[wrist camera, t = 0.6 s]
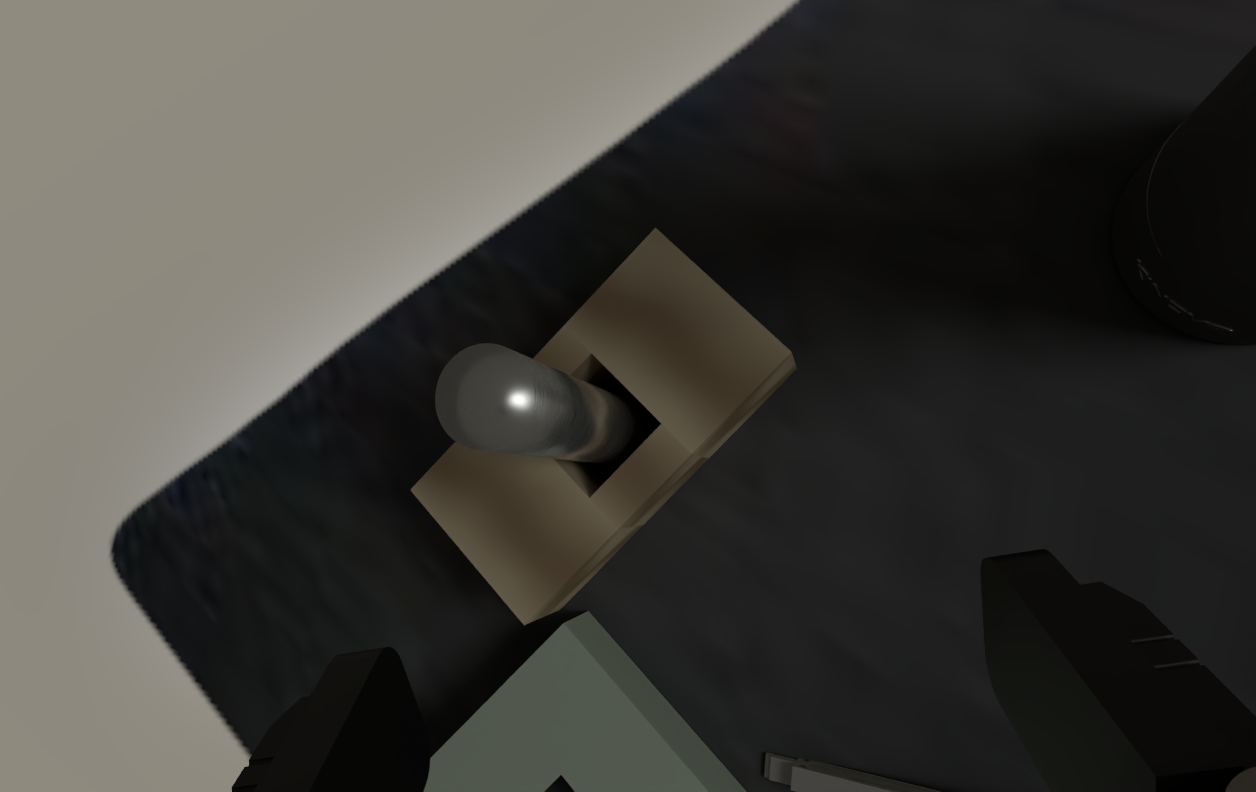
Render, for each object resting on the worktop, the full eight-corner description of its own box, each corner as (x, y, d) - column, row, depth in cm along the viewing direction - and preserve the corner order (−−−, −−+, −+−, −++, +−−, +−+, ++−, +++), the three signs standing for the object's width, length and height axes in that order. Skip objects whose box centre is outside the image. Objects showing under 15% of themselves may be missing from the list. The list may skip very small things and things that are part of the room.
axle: (619, 385, 38) (485, 321, 23) (664, 431, 37) (555, 393, 23) (574, 432, 38) (415, 397, 24) (618, 479, 37) (481, 472, 23)
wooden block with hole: (676, 257, 38) (655, 227, 33) (796, 368, 36) (791, 351, 31) (456, 489, 39) (410, 489, 35) (560, 609, 37) (524, 625, 33)
